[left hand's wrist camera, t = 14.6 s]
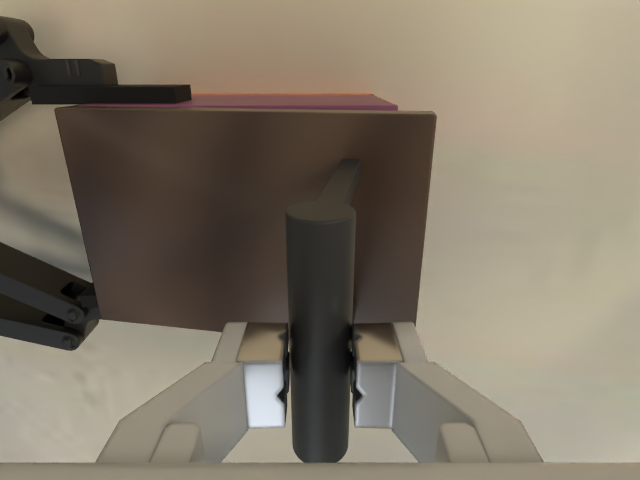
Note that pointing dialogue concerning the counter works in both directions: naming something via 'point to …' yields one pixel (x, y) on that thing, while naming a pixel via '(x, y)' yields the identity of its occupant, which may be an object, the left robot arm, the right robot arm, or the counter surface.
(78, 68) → the right robot arm
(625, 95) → the counter surface
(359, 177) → the lid
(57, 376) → the counter surface
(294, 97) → the chest
